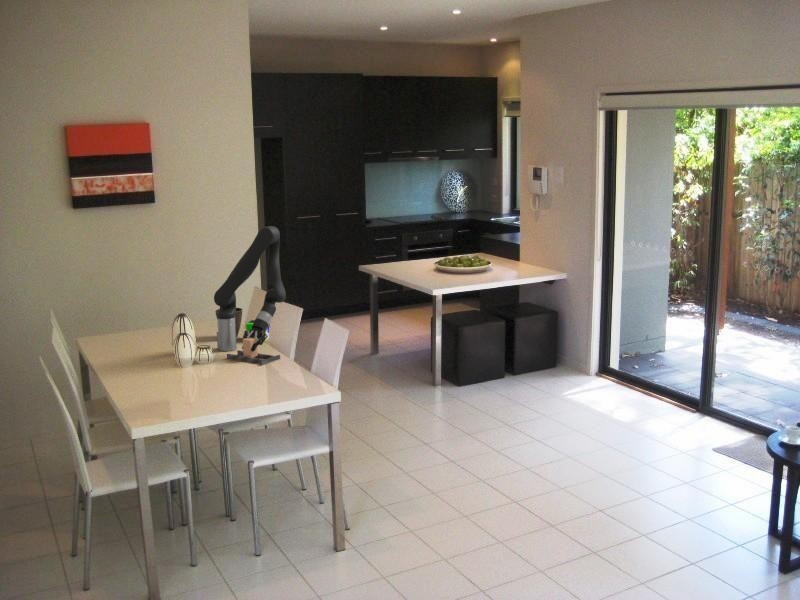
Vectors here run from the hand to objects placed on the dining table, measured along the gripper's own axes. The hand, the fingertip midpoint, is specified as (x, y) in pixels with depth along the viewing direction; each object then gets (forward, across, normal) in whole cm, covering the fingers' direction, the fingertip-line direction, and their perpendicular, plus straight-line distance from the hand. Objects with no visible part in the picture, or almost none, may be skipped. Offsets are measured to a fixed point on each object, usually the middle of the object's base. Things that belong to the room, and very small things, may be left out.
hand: (247, 349), depth 419 cm
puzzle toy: (-24, -28, +34) cm, 50 cm away
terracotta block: (+1, 0, +4) cm, 4 cm away
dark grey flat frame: (+3, +1, +6) cm, 7 cm away
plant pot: (-21, -45, +31) cm, 58 cm away
